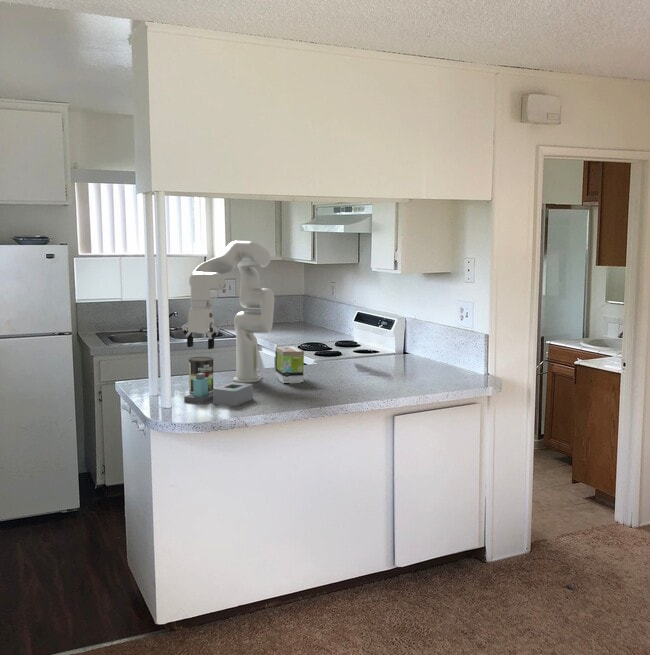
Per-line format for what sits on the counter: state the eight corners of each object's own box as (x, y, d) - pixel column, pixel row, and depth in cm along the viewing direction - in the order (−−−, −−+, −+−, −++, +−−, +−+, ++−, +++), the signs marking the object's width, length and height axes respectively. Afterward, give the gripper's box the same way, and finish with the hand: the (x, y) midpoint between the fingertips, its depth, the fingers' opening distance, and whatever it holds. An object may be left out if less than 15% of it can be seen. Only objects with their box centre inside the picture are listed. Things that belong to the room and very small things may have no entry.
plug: (200, 398, 288) (200, 372, 286) (208, 399, 286) (207, 373, 285) (193, 401, 283) (193, 374, 282) (201, 402, 282) (200, 375, 280)
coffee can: (218, 392, 300) (217, 359, 298) (195, 395, 294) (195, 361, 292) (206, 387, 308) (206, 355, 306) (184, 390, 302) (184, 357, 300)
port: (231, 396, 293) (231, 381, 292) (252, 398, 289) (252, 383, 288) (213, 403, 280) (212, 387, 279) (235, 406, 276) (235, 390, 275)
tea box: (304, 383, 320) (304, 350, 318) (282, 384, 317) (282, 351, 315) (295, 376, 334) (295, 345, 332) (274, 377, 331) (274, 346, 329)
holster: (198, 396, 291) (198, 391, 291) (217, 399, 287) (217, 393, 287) (184, 402, 282) (184, 396, 282) (203, 404, 278) (203, 399, 278)
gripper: (224, 305, 280) (224, 348, 282) (187, 303, 287) (187, 345, 289) (214, 306, 273) (213, 350, 275) (176, 304, 280) (176, 347, 282)
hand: (200, 347), depth 282 cm, fingers open, 9 cm apart
